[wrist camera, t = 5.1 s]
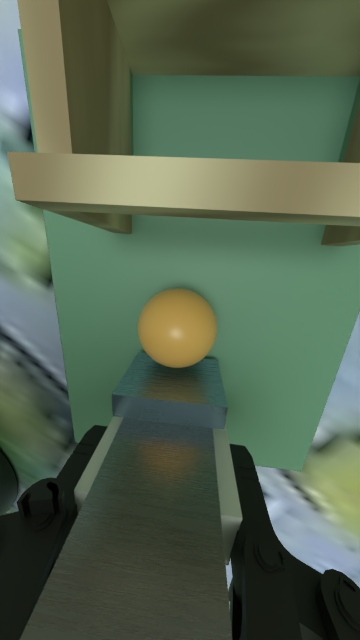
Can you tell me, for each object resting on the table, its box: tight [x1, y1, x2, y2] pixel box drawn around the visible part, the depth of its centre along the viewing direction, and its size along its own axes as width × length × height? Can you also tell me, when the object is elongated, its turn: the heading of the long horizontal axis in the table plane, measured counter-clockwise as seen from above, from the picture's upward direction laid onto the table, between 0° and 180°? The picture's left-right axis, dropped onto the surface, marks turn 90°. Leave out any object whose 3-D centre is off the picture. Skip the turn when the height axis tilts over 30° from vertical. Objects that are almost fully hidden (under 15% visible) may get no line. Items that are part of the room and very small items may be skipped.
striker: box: [20, 352, 232, 640], centre depth 8 cm, size 5×5×10 cm
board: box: [18, 29, 360, 472], centre depth 12 cm, size 18×24×1 cm
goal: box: [7, 0, 360, 246], centre depth 6 cm, size 12×8×6 cm, turn 86°
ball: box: [138, 288, 217, 368], centre depth 10 cm, size 4×4×4 cm
